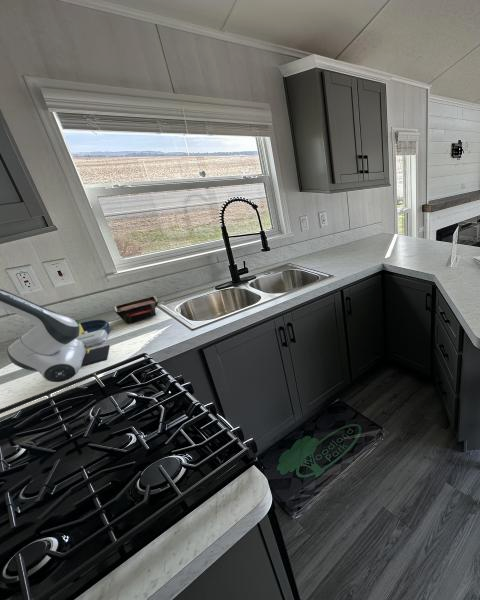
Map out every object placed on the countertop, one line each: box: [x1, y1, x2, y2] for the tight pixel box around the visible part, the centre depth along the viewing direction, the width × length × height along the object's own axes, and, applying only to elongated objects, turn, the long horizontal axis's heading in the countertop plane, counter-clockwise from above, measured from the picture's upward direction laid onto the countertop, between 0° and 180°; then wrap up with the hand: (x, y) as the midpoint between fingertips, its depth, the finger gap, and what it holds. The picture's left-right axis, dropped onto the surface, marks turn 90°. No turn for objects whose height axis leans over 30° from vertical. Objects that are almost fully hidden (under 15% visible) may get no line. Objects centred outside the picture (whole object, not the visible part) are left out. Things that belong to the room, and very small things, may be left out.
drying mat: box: [81, 344, 111, 367], centre depth 131 cm, size 14×12×1 cm
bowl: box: [80, 318, 112, 334], centre depth 146 cm, size 17×17×4 cm
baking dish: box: [113, 295, 159, 325], centre depth 163 cm, size 14×18×10 cm
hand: (75, 335), depth 127 cm, fingers closed on sponge, 4 cm apart
